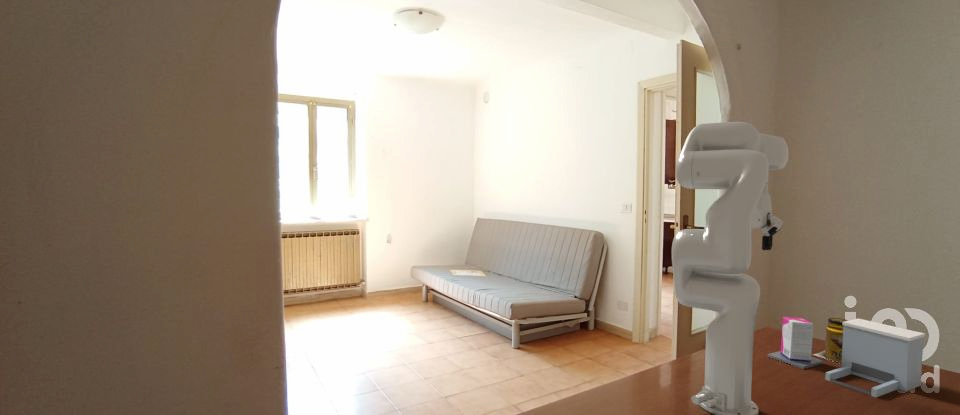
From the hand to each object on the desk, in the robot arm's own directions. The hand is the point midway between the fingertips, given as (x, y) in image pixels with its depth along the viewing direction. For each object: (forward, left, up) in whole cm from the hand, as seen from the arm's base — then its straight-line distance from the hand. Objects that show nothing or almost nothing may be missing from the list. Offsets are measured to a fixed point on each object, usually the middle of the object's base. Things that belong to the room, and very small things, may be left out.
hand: (749, 247), depth 129 cm
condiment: (+28, -10, -34) cm, 45 cm away
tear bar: (+8, -23, -34) cm, 41 cm away
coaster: (+15, -6, -34) cm, 37 cm away
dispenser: (+17, -23, -34) cm, 44 cm away
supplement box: (+14, -6, -33) cm, 36 cm away
